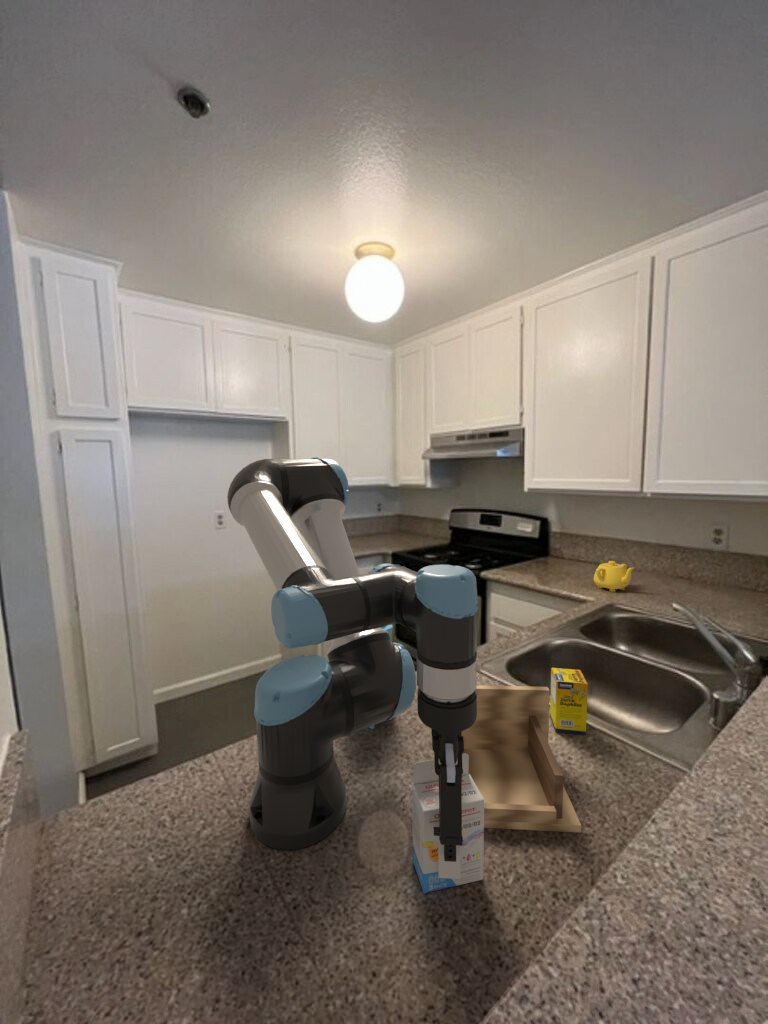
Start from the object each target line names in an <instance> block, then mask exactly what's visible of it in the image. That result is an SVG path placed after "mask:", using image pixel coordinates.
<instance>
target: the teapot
mask: <svg viewBox="0 0 768 1024" xmlns="http://www.w3.org/2000/svg"><path fill="white" fill-rule="evenodd" d="M634 569H635V567H629V568H628V565H627V564H626V563H621V564H619V563H617V562H616V561H614V560H609V561H608V562H604V563H600V564H599V565H598V566H597V568H596V570H595V571H594V575H593V583H595V585H596V587H597V589H604V588H605V589H609V590H608V591H609V592H611V593H616V591H617V590H620V591H625V590H626V589H625V588H627V587H628V586H629V584H630V581H631V580H632V571H633V570H634Z"/></svg>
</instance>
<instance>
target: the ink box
mask: <svg viewBox="0 0 768 1024" xmlns="http://www.w3.org/2000/svg"><path fill="white" fill-rule="evenodd" d="M457 763H458V761H457V762H456V764H455V765H457ZM439 764H442V763H440V760H439ZM433 768H435V767H434V758H433V759H427V760H422V761H416V762H414V764H413V765H412V777H413V778H412V784H411V785H412V786H411V800H412V801H411V804H412V805H411V808H412V809H411V811H412V813H411V814H412V824H411V825H412V826H411V827H412V863H413V865H414V868H415V872H416V874H417V877H418V880H419V884H420V886H421V890H422V893H423V894H427V893H431V892H435V891H438V890H444V889H448V888H452V887H456V886H461V885H465V884H466V885H467V884H469V883H475V882H478V881H482V880H484V847H485V846H484V845H485V843H484V842H485V839H484V837H485V836H484V835H485V828H484V798H483V796H482V795H481V793H480V791H479V789H478V788H477V786H476V784H475V783H474V781H473V779H472V777H471V775H470V774H468V770H469V755H468V754H467V753H465V754H462V768H463V774H462V836H463V842H462V846H460V879H449V878H439V874H438V836H434V827H438V826H440V822H439V776H438V775H437V774H436V773H435V770H432V769H433Z"/></svg>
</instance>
